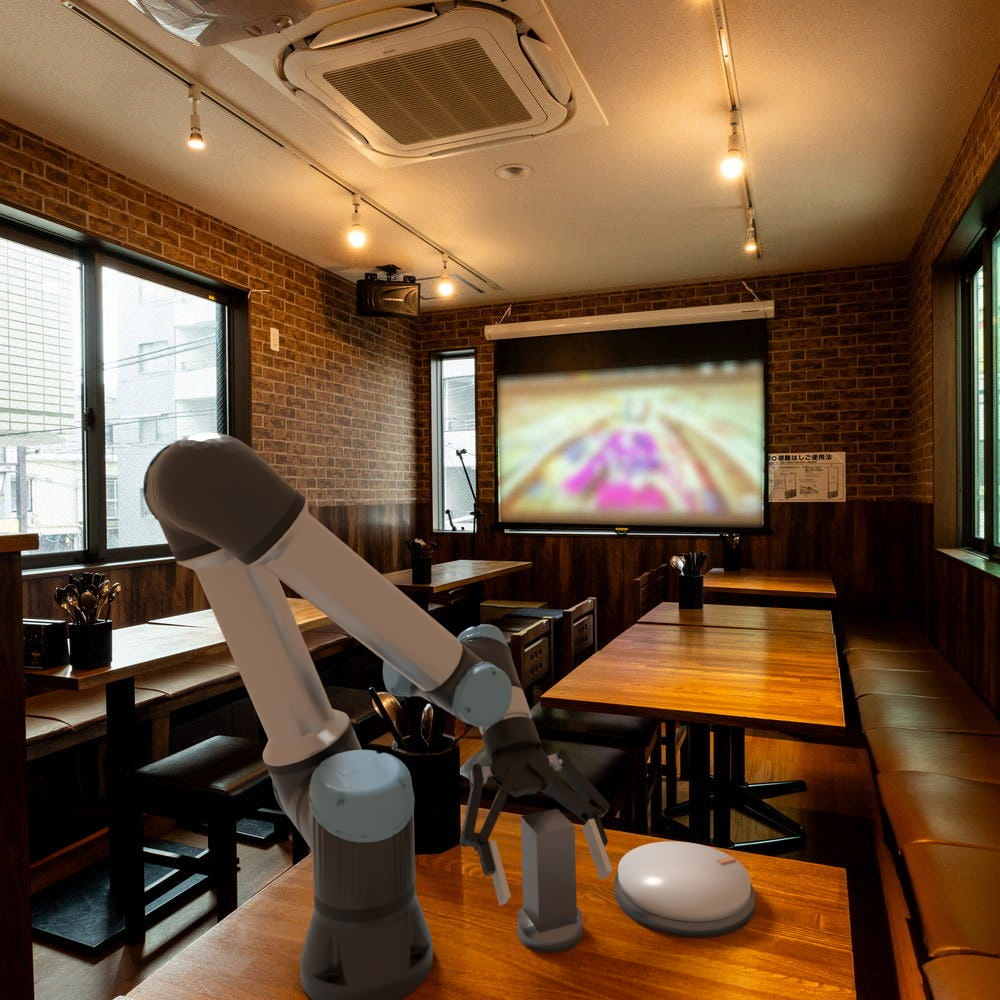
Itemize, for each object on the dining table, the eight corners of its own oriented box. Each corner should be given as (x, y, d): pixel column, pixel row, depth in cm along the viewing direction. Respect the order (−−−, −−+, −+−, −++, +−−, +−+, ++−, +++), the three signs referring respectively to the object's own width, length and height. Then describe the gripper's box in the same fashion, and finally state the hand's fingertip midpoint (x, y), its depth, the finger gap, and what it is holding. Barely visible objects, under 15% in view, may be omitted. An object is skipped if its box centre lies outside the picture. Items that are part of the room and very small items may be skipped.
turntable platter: (665, 935, 88) (664, 920, 88) (595, 867, 104) (595, 854, 103) (779, 902, 94) (779, 888, 94) (697, 842, 110) (697, 830, 110)
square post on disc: (532, 960, 87) (529, 842, 86) (508, 921, 94) (505, 813, 93) (594, 943, 89) (591, 829, 89) (565, 907, 97) (562, 801, 96)
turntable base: (664, 953, 87) (663, 940, 87) (591, 878, 104) (590, 867, 104) (785, 916, 94) (785, 904, 94) (698, 851, 110) (698, 841, 110)
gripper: (578, 727, 111) (634, 875, 97) (415, 754, 101) (452, 922, 88) (595, 701, 105) (657, 854, 92) (425, 727, 96) (466, 901, 83)
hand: (557, 888), depth 90 cm, fingers open, 13 cm apart
